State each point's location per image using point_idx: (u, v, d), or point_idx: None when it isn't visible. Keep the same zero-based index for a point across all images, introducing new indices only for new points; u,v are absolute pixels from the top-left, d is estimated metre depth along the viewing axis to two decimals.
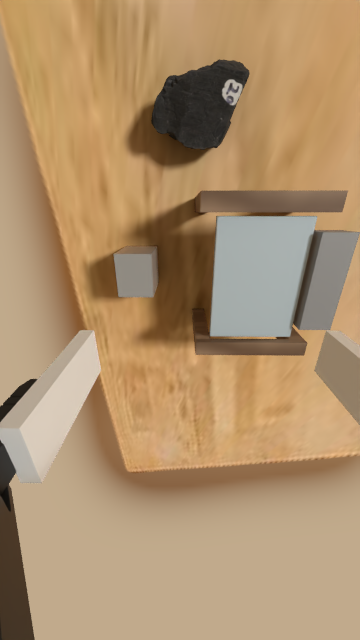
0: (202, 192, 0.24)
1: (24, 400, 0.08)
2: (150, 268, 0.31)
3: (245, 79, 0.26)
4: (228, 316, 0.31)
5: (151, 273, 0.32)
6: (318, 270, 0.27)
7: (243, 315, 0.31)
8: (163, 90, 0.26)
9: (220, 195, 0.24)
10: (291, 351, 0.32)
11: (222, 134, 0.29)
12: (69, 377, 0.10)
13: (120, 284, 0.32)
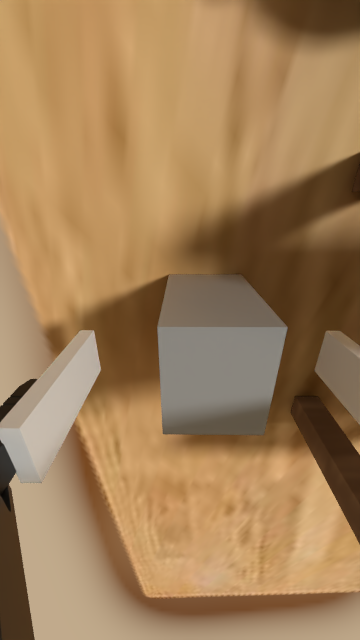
0: None
1: (24, 400, 0.08)
2: (273, 367, 0.10)
3: None
4: None
5: (272, 379, 0.10)
6: None
7: None
8: None
9: None
10: None
11: None
12: (69, 377, 0.10)
13: (171, 406, 0.11)
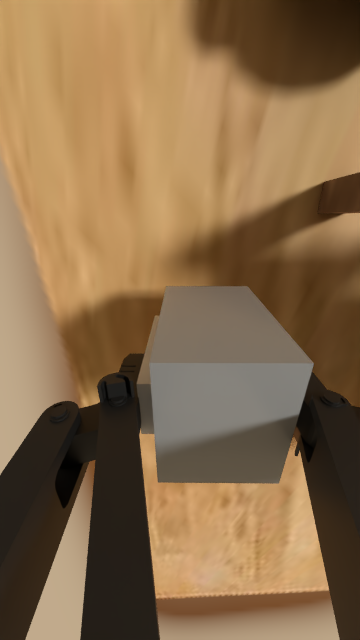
0: None
1: (145, 365, 0.10)
2: (293, 409, 0.08)
3: None
4: None
5: (291, 423, 0.08)
6: None
7: None
8: None
9: None
10: None
11: None
12: None
13: (168, 453, 0.09)
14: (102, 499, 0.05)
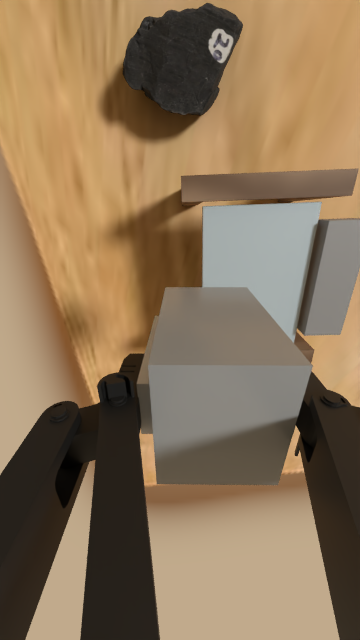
0: (182, 177, 0.20)
1: (145, 366, 0.10)
2: (292, 411, 0.08)
3: (237, 32, 0.22)
4: None
5: (290, 425, 0.08)
6: (325, 266, 0.23)
7: None
8: (137, 33, 0.22)
9: (204, 180, 0.20)
10: None
11: (207, 99, 0.24)
12: None
13: (167, 454, 0.09)
14: (102, 499, 0.05)
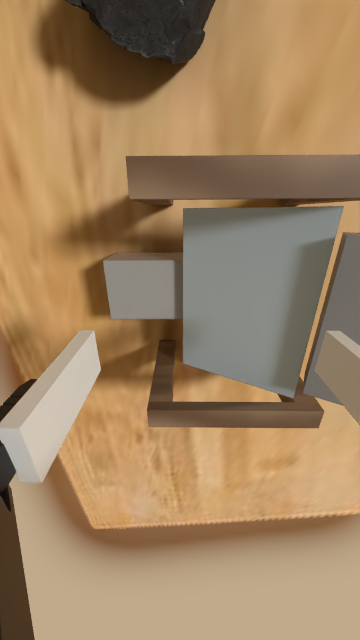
0: (128, 159, 0.12)
1: (24, 400, 0.08)
2: (106, 279, 0.23)
3: None
4: (203, 344, 0.23)
5: (107, 287, 0.23)
6: (338, 303, 0.15)
7: (222, 348, 0.22)
8: None
9: (164, 165, 0.12)
10: (298, 422, 0.20)
11: (183, 38, 0.16)
12: (69, 377, 0.10)
13: None
14: None
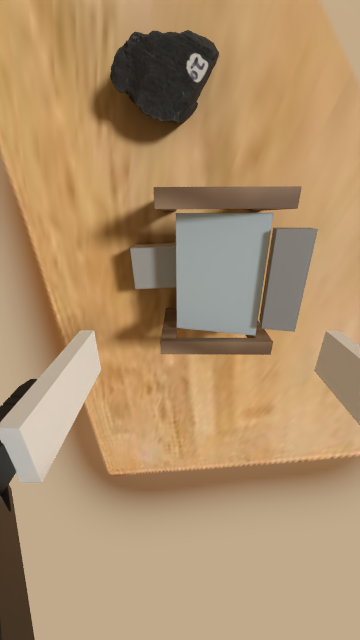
0: (155, 189, 0.24)
1: (24, 400, 0.08)
2: (132, 261, 0.34)
3: (212, 58, 0.26)
4: (192, 309, 0.32)
5: (133, 266, 0.34)
6: (276, 268, 0.27)
7: (206, 309, 0.32)
8: (126, 44, 0.25)
9: (173, 191, 0.24)
10: (257, 350, 0.32)
11: (183, 111, 0.28)
12: (69, 377, 0.10)
13: None
14: None
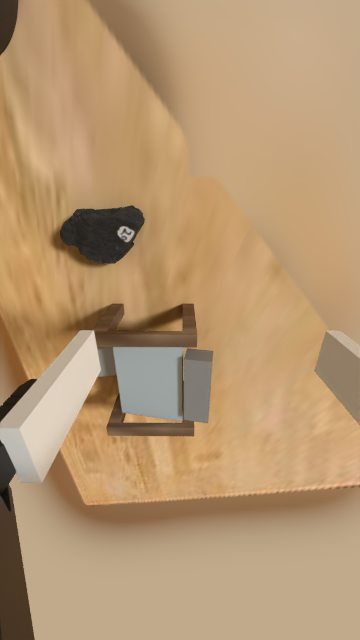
0: None
1: (24, 400, 0.08)
2: None
3: (137, 227, 0.34)
4: (132, 401, 0.41)
5: None
6: (187, 382, 0.35)
7: (143, 402, 0.40)
8: (70, 218, 0.33)
9: (103, 337, 0.32)
10: (183, 433, 0.40)
11: (119, 256, 0.36)
12: (69, 377, 0.10)
13: None
14: None
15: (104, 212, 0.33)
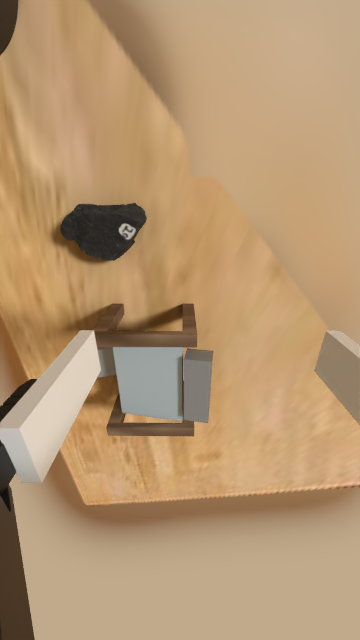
0: None
1: (24, 400, 0.08)
2: None
3: (139, 225, 0.34)
4: (132, 401, 0.40)
5: None
6: (187, 382, 0.35)
7: (143, 402, 0.40)
8: (72, 213, 0.32)
9: (103, 337, 0.32)
10: (183, 433, 0.40)
11: (119, 253, 0.36)
12: (69, 377, 0.10)
13: None
14: None
15: (106, 208, 0.32)
